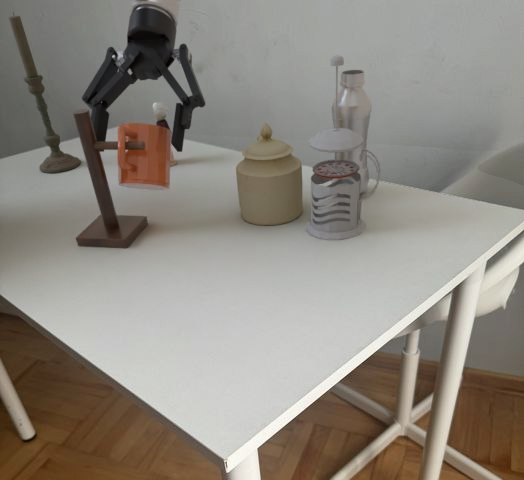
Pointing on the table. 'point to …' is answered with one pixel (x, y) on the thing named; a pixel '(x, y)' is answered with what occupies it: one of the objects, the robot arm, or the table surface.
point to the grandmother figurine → (163, 122)
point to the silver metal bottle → (353, 120)
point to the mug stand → (105, 192)
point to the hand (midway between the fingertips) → (136, 147)
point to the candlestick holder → (41, 104)
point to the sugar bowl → (269, 181)
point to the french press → (337, 182)
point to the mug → (144, 157)
